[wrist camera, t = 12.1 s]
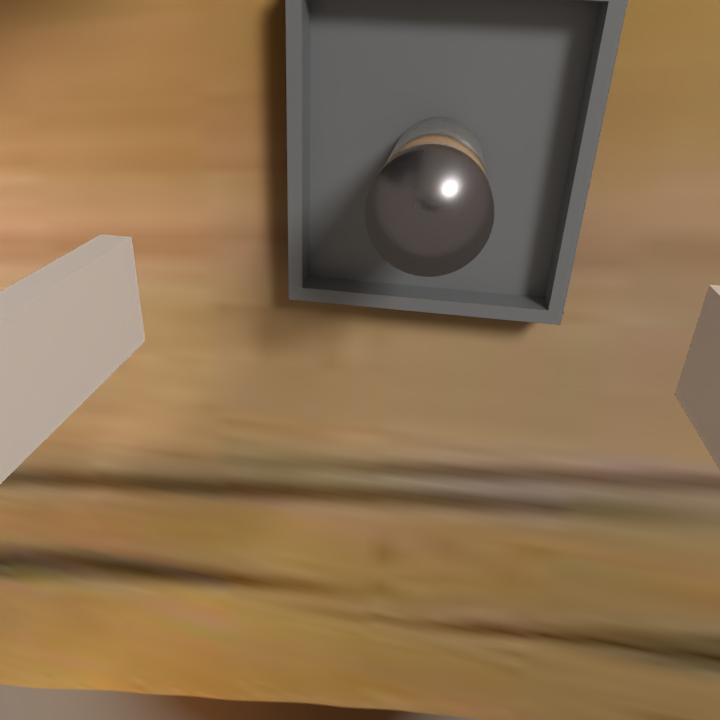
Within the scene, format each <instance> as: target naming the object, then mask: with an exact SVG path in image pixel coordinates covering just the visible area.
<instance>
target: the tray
mask: <svg viewBox="0 0 720 720" xmlns="http://www.w3.org/2000/svg"><path fill="white" fill-rule="evenodd" d="M627 2H628V0H285V6H286V97H287V188H288V279H289V300H299V301H310V302H321V303H331V304H342V305H353V306H363V307H374V308H385V309H395V310H406V311H417V312H428V313H438V314H449V315H460V316H470V317H481V318H492V319H502V320H513V321H524V322H534V323H545V324H556V325H561V320H562V315H563V310H564V305H565V300H566V296H567V291H568V286H569V281H570V276H571V272H572V267H573V262H574V257H575V252H576V247H577V243H578V238H579V233H580V228H581V223H582V219H583V214H584V209H585V204H586V199H587V194H588V190H589V185H590V180H591V175H592V170H593V166H594V161H595V156H596V151H597V146H598V141H599V137H600V132H601V127H602V122H603V117H604V113H605V108H606V103H607V98H608V93H609V88H610V84H611V79H612V74H613V69H614V64H615V60H616V55H617V50H618V45H619V40H620V35H621V31H622V26H623V21H624V16H625V11H626V7H627ZM430 117H448V118H452V119H455V120H457V121H459V122H461V123H463V124H464V125H466V126H467V127H468V128H469V129H471V131H472V132H473V133H474V134H475V136H476V137H477V139H478V140H479V142H480V145H481V147H482V151H483V156H484V162H485V168H486V174H487V179H488V181H489V184H490V187H491V191H492V196H493V202H494V223H493V227H492V231H491V234H490V236H489V239H488V241H487V243H486V245H485V246H484V248H483V249H482V250H481V252H480V253H479V254H478V255H477V256H476V257H475V259H473V260H472V261H471V262H470V263H469V264H467V265H466V266H464V267H463V268H461V269H459V270H457V271H455V272H452V273H449V274H446V275H442V276H435V277H422V276H416V275H412V274H408V273H405V272H403V271H401V270H399V269H397V268H395V267H394V266H392V265H391V264H389V263H388V262H387V261H386V260H385V259H384V258H383V257H382V256H381V255H380V254H379V253H378V252H377V250H376V249H375V247H374V246H373V244H372V242H371V240H370V238H369V235H368V232H367V228H366V223H365V205H366V199H367V196H368V192H369V190H370V188H371V185H372V183H373V182H374V180H375V178H376V176H377V175H378V173H379V171H380V170H381V169H382V167H383V166H384V165H385V164H386V162H387V161H388V159H389V157H390V155H391V153H392V151H393V149H394V147H395V145H396V144H397V142H398V140H399V138H400V137H401V136H402V134H403V133H404V132H405V131H406V130H407V129H408V128H409V127H411V126H412V125H413V124H415V123H417V122H418V121H421V120H423V119H426V118H430Z"/></svg>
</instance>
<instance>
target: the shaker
mask: <svg viewBox="0 0 720 720" xmlns="http://www.w3.org/2000/svg"><path fill="white" fill-rule="evenodd" d="M365 223H366V228H367V232H368V235H369V238H370V240H371V242H372V244H373V246H374V247H375V249H376V250H377V252H378V253H379V254H380V255H381V256H382V257H383V258H384V259H385V260H386V261H387V262H388V263H389V264H391V265H392V266H394V267H395V268H397V269H399V270H401V271H403V272H405V273H408V274H412V275H416V276H422V277H435V276H442V275H446V274H449V273H452V272H455V271H457V270H459V269H461V268H463V267H464V266H466V265H467V264H469V263H470V262H471V261H472V260H473V259H475V257H476V256H477V255H478V254H479V253H480V252H481V250H482V249H483V248H484V246H485V245H486V243H487V241H488V239H489V236H490V234H491V231H492V227H493V223H494V202H493V196H492V191H491V187H490V184H489V181H488V179H487V174H486V168H485V162H484V156H483V151H482V147H481V145H480V142H479V140H478V139H477V137H476V136H475V134H474V133H473V132H472V131H471V129H469V128H468V127H467V126H466V125H464V124H463V123H461V122H459V121H457V120H455V119H452V118H448V117H430V118H426V119H423V120H421V121H418V122H417V123H415V124H413V125H412V126H411V127H409V128H408V129H407V130H406V131H405V132H404V133H403V134H402V136H401V137H400V138H399V140H398V142H397V144H396V145H395V147H394V149H393V151H392V153H391V155H390V157H389V159H388V161H387V162H386V164H385V165H384V166H383V167H382V169H381V170H380V171H379V173H378V175H377V176H376V178H375V180H374V182H373V183H372V185H371V188H370V190H369V192H368V196H367V199H366V205H365Z"/></svg>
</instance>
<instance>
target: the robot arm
mask: <svg viewBox="0 0 720 720" xmlns="http://www.w3.org/2000/svg"><path fill="white" fill-rule="evenodd" d="M144 342H145V336H144V328H143V321H142V313H141V306H140V298H139V290H138V283H137V275H136V268H135V260H134V253H133V245H132V237H126V236H114V235H102V234H101V235H99V236H97V237H96V238H94V239H92V240H90V241H88V242H87V243H85V244H83V245H81V246H80V247H78V248H76V249H74V250H73V251H71V252H69V253H67V254H66V255H64V256H62V257H60V258H59V259H57V260H55V261H53V262H51V263H50V264H48V265H46V266H44V267H43V268H41V269H39V270H37V271H36V272H34V273H32V274H30V275H29V276H27V277H25V278H23V279H22V280H20V281H18V282H16V283H14V284H13V285H11V286H9V287H7V288H6V289H4V290H2V291H0V484H1V483H2V482H3V481H4V480H5V479H6V478H7V477H8V476H9V475H10V474H11V473H12V472H13V471H14V470H15V469H16V468H17V467H18V466H19V465H20V464H21V463H22V462H23V461H24V460H25V459H26V458H27V457H28V456H29V455H30V454H31V453H32V452H33V451H34V450H35V449H36V448H37V447H38V446H39V445H40V444H41V443H42V442H43V441H44V440H45V439H46V438H47V437H49V436H50V435H51V434H52V433H53V432H54V431H55V430H56V429H57V428H58V427H59V426H60V425H61V424H62V423H63V422H64V421H65V420H66V419H67V418H68V417H69V416H70V415H71V414H72V413H73V412H74V411H75V410H76V409H77V408H78V407H79V406H80V405H81V404H82V403H83V402H84V401H85V400H86V399H87V398H88V397H89V396H90V395H91V394H92V393H93V392H94V391H95V390H96V389H97V388H98V387H99V386H100V385H101V384H102V383H103V382H104V381H105V380H106V379H107V378H108V377H109V376H110V375H111V374H112V373H113V372H114V371H115V370H116V369H117V368H118V367H119V366H120V365H121V364H122V363H123V362H124V361H126V360H127V359H128V358H129V357H130V356H131V355H132V354H133V353H134V352H135V351H136V350H137V349H138V348H139V347H140V346H141V345H142V344H143V343H144ZM675 396H676V397H677V399H678V401H679V402H680V404H681V406H682V408H683V409H684V411H685V413H686V414H687V416H688V418H689V419H690V421H691V423H692V424H693V426H694V428H695V429H696V431H697V433H698V434H699V436H700V438H701V440H702V441H703V443H704V445H705V446H706V448H707V450H708V451H709V453H710V455H711V456H712V458H713V460H714V461H715V463H716V465H717V467H718V468H719V470H720V286H716V285H709V288H708V291H707V294H706V297H705V300H704V303H703V307H702V310H701V313H700V316H699V319H698V322H697V326H696V329H695V332H694V335H693V338H692V341H691V345H690V348H689V351H688V354H687V357H686V360H685V363H684V367H683V370H682V373H681V376H680V379H679V382H678V386H677V389H676V392H675Z"/></svg>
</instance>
